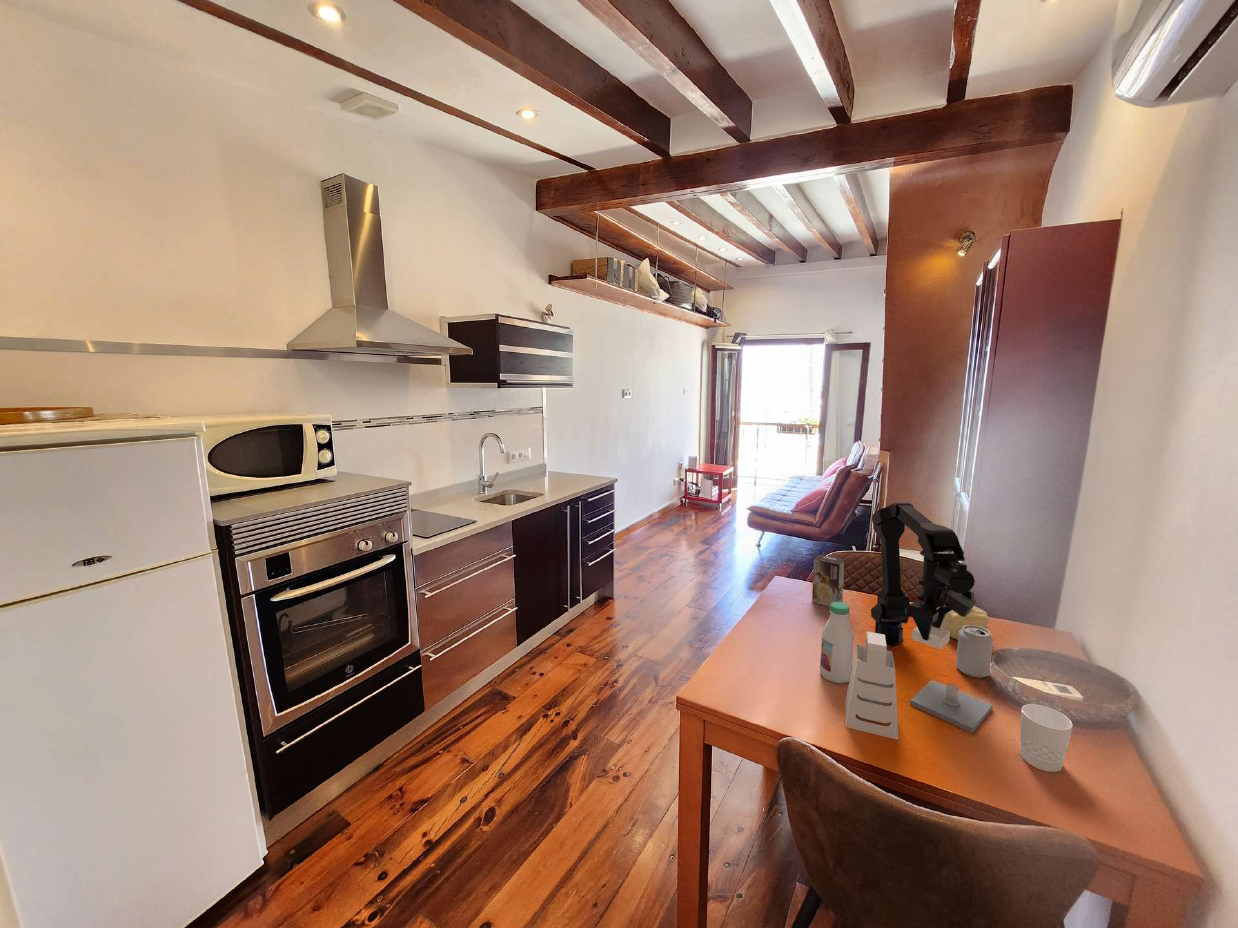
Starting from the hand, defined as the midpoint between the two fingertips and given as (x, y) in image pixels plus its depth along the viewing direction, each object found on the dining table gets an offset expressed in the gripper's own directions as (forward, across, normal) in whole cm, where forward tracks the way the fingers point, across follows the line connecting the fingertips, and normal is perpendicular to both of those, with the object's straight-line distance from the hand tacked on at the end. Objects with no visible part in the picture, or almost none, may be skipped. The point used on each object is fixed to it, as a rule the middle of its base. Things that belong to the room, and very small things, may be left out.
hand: (930, 635), depth 128 cm
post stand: (+13, -7, -8) cm, 17 cm away
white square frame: (+1, 0, 0) cm, 1 cm away
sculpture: (+12, +33, +3) cm, 35 cm away
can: (+13, +14, -6) cm, 20 cm away
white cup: (+13, -12, -26) cm, 31 cm away
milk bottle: (+13, -16, +16) cm, 26 cm away
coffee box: (+12, +24, +41) cm, 49 cm away
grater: (+13, -26, +2) cm, 29 cm away
